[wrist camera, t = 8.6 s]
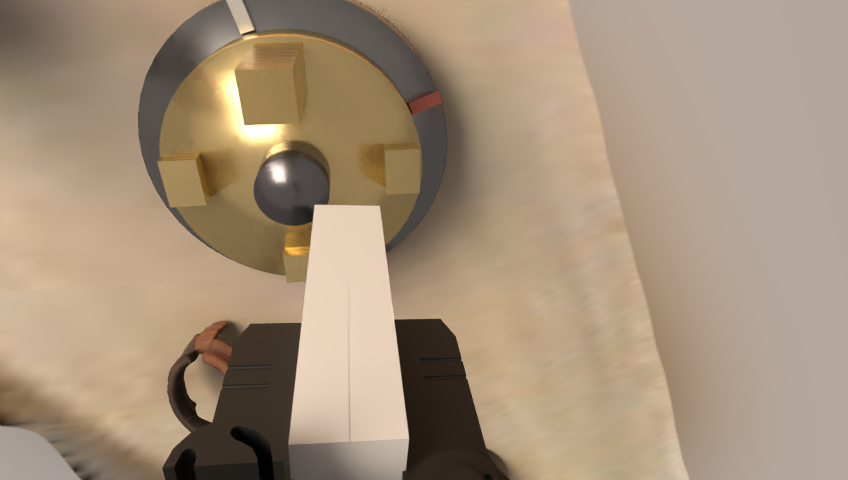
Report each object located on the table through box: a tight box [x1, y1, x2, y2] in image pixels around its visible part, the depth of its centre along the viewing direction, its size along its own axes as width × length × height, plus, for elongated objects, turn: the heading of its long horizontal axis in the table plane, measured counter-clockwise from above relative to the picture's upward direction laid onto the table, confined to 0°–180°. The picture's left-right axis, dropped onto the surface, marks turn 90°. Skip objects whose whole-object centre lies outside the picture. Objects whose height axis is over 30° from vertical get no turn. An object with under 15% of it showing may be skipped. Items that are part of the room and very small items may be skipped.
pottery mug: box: [167, 321, 232, 432], centre depth 43 cm, size 12×9×8 cm
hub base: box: [138, 0, 447, 264], centre depth 32 cm, size 19×19×9 cm
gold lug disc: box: [157, 29, 422, 282], centre depth 29 cm, size 15×15×9 cm
